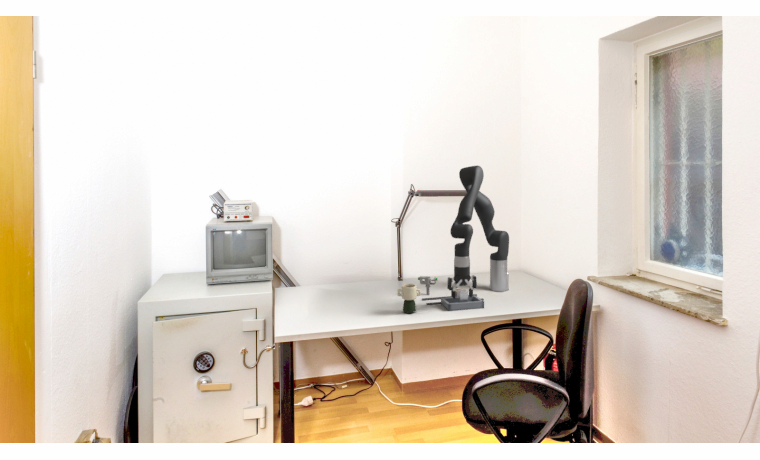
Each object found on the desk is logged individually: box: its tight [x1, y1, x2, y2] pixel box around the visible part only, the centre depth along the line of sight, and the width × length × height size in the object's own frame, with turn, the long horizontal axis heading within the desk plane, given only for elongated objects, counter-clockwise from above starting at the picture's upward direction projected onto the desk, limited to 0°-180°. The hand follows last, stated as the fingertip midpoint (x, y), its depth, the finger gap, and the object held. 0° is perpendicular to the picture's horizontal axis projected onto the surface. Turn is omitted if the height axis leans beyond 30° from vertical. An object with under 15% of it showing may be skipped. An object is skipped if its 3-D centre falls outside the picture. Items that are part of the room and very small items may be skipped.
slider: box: [455, 288, 465, 297], centre depth 217 cm, size 6×5×5 cm
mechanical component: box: [417, 275, 438, 296], centre depth 228 cm, size 3×10×10 cm, turn 78°
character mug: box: [397, 283, 422, 314], centre depth 199 cm, size 11×7×13 cm, turn 92°
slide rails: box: [421, 293, 485, 306], centre depth 217 cm, size 30×10×1 cm, turn 100°
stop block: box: [457, 288, 469, 303], centre depth 205 cm, size 4×4×7 cm
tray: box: [440, 295, 485, 312], centre depth 206 cm, size 18×11×4 cm, turn 100°
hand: (462, 297), depth 205 cm, fingers open, 8 cm apart
